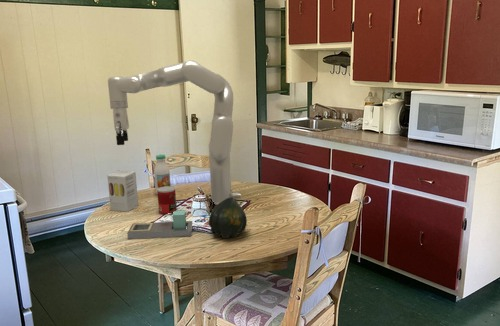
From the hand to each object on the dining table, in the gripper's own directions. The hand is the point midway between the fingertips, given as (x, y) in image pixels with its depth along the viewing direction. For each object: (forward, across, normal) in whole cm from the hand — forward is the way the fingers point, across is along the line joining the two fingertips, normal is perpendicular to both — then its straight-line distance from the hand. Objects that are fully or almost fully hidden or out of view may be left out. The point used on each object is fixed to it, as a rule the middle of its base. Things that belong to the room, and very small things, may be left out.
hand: (122, 142), depth 196 cm
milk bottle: (+31, +18, -15) cm, 38 cm away
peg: (+31, -36, -26) cm, 53 cm away
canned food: (+31, -11, -19) cm, 38 cm away
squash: (+31, -41, -44) cm, 68 cm away
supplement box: (+31, -2, +2) cm, 31 cm away
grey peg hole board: (+31, -35, -18) cm, 50 cm away
